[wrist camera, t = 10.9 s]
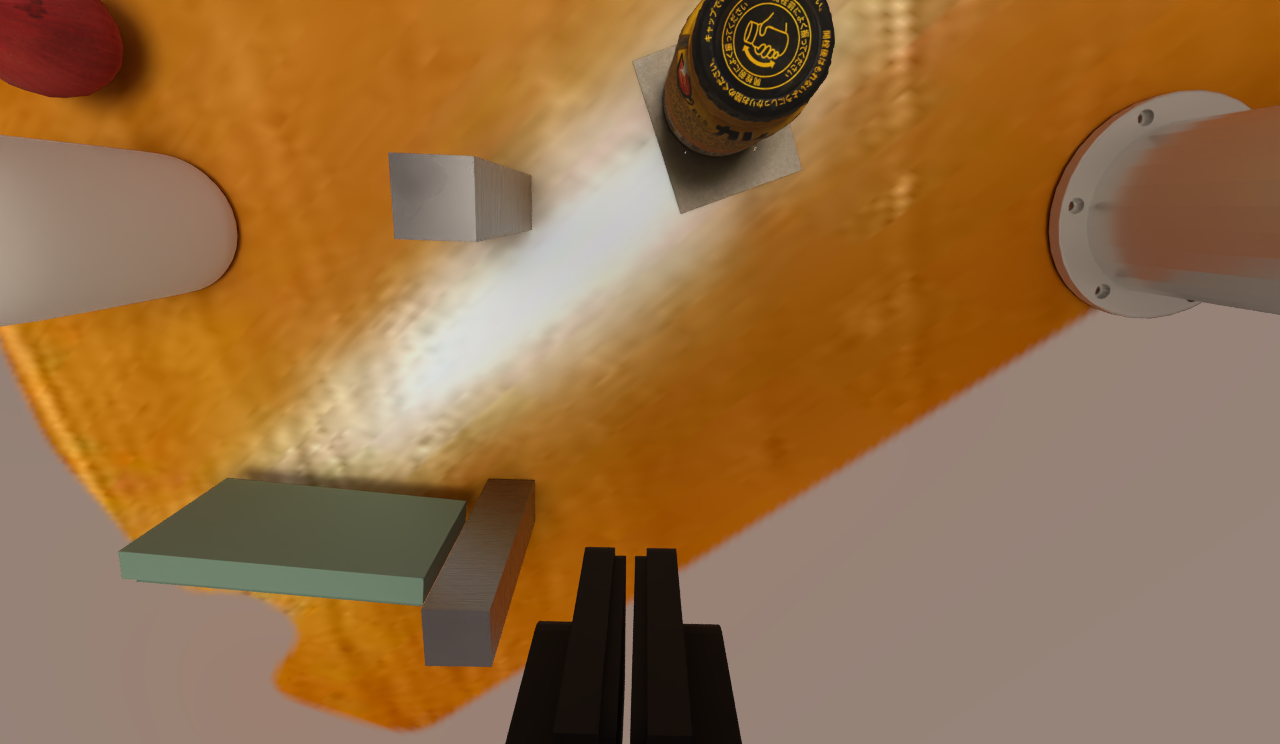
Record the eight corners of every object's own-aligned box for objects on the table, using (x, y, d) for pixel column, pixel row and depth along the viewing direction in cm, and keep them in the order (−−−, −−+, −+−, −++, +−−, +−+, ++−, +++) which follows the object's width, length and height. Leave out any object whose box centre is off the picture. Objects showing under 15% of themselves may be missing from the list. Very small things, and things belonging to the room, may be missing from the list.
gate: (466, 500, 37) (423, 578, 29) (465, 529, 37) (422, 613, 30) (227, 477, 36) (118, 551, 28) (229, 507, 37) (123, 587, 29)
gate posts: (531, 175, 34) (473, 156, 21) (534, 521, 39) (491, 666, 27) (478, 173, 33) (388, 152, 21) (489, 519, 39) (425, 665, 27)
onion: (50, -27, 30) (-146, -107, 23) (165, 7, 31) (11, -60, 23) (49, 91, 32) (-136, 54, 24) (159, 121, 32) (12, 95, 25)
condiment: (760, 13, 32) (836, -100, 20) (800, 170, 34) (890, 150, 22) (632, 62, 32) (634, -21, 21) (680, 213, 34) (707, 216, 23)
